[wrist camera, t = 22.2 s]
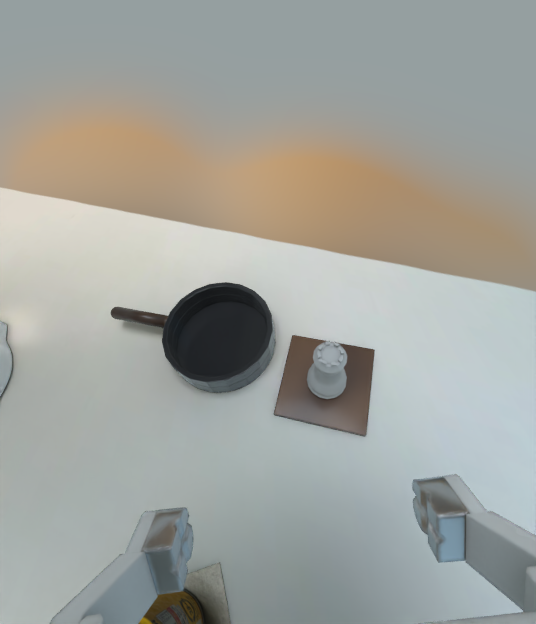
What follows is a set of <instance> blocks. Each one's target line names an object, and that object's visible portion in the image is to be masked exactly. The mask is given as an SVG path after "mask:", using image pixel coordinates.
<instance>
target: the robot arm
mask: <svg viewBox="0 0 536 624" xmlns="http://www.w3.org/2000/svg"><path fill="white" fill-rule="evenodd" d="M6 335H7V325H6V324H5V323H4V322H1V321H0V396H1V394H2V392H3V391H4V389H5V387H6V385H7V383H8V380H9V378H10V374H11V370H12V354H11V350H10V348H9V346H8V344H7V341H6ZM412 489H413V491H414V493H415V495H416V496H415V498H414V499H413V508H414V512H415V516H416V519H417V522H418V524H419V526H420V528H421V530H422V531H423V532H424V533H426V534H427V535H428V544H429V546H430V548H431V550H432V551H433V553H434V555H435V557H436V559H437V561H438V563H440V562H453V561H465V560H466V563H467V564H469V565H470V566H471V567H472V568H473V569H475V570H476V571H477V572H478V573H479V574H480V575H482V576H483V577H484V578H485V579H486V580H488V581H489V582H490V583H491V584H492V585H494V586H495V587H496V588H497V589H498V590H499V591H501V592H502V593H503V594H504V595H505V596H507V597H508V598H509V599H510V600H511V601H513V602H514V603H515V604H516V605H517V606H518V607H520V608H521V609H522V610H523V612H522V613H513V614H503V615H494V616H484V617H475V618H466V619H456V620H447V621H437V622H428V623H418V624H536V535H534V534H532V533H530V532H528V531H527V530H525V529H523V528H521V527H519V526H518V525H516V524H514V523H512V522H510V521H509V520H507V519H505V518H503V517H501V516H500V515H498V514H496V513H494V512H492V511H490V512H487V510H486V509H485V508H484V507H483V505H482V504H481V503H480V502H479V500H478V499H477V498H476V497H475V495H474V494H473V493H472V492H471V490H470V489H469V488H468V487H467V485H466V484H465V483H464V481H463V480H462V479H461V478H460V476H458V475H457V474H454V475H446V476H442V477H441V476H440V477H432V478H424V479H416V480H413V483H412ZM188 518H189V514H188V510H187V508H185V507H183V508H173V509H162V510H155V511H145V512H144V513H143V514H142V515H141V518H140V520H139V522H138V524H137V527H136V529H135V531H134V533H133V536H132V538H131V540H130V542H129V545H128V547H127V549H126V551H125V554H120V555H119V556H118V557H117V558H116V559H115V560H114V561H113V562H112V563H111V564H110V565H108V566H107V567H106V568H105V569H104V570H103V571H102V572H101V573H100V574H99V575H98V576H97V577H96V578H95V579H94V580H93V581H91V582H90V583H89V584H88V585H87V586H86V587H85V588H84V589H83V590H82V591H81V592H80V593H79V594H78V595H77V596H76V597H74V598H73V599H72V600H71V601H70V602H69V603H68V604H67V605H66V606H65V607H64V608H63V609H62V610H61V611H60V612H58V613H57V614H56V615H55V616H54V617H53V619H52V620H51V622H50V624H138V623H139V622H140V621H141V619H142V618H143V616H144V615H145V614H146V612H147V611H148V609H149V608H150V607H151V605H152V604H153V602H154V601H155V600H156V598H157V597H158V596H157V595H160V594H167V593H174V592H181V591H183V589H184V585H185V581H186V577H187V572H188V569H187V564H186V563H187V561H188V560H189V559H190V558H191V555H192V550H193V530H192V526H191V525H190V524H189V523H187V522H188Z"/></svg>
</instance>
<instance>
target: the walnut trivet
mask: <svg viewBox="0 0 536 624" xmlns="http://www.w3.org/2000/svg"><path fill="white" fill-rule="evenodd" d="M325 342H327V341H323V340H317V339H312V338H306V337H301V336H295V335H292V339H291V344H290V348H289V352H288V356H287V361H286V365H285V369H284V373H283V377H282V382H281V386H280V390H279V394H278V398H277V403H276V407H275V411H274V415H276V416H281V417H285V418H289V419H293V420H298V421H302V422H306V423H310V424H315V425H319V426H323V427H327V428H332V429H336V430H340V431H345V432H349V433H353V434H357V435H362V436H366V430H367V420H368V410H369V400H370V390H371V380H372V370H373V360H374V350H373V349H368V348H362V347H356V346H351V345H345V344H340V343H338V344H340V346H342V347H343V349H344V350H345V351H346V354H347V363H346V365H345V366H344V370H345V373H346V376H347V379H346V387H345V389H344V390H343V392H342V393H341V394H340V395H338V396H337V397H335V398H331V399H325V398H320V397H318V396H317V395H315V394H314V393H313V392H312V391H311V390H310V388H309V387H308V383H307V376H308V371H309V369H310V367H311V366H312V364H313V363H314V360H313V354H314V350H315V349H316V347H317V346H318V345H320V344H322V343H325Z"/></svg>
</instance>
